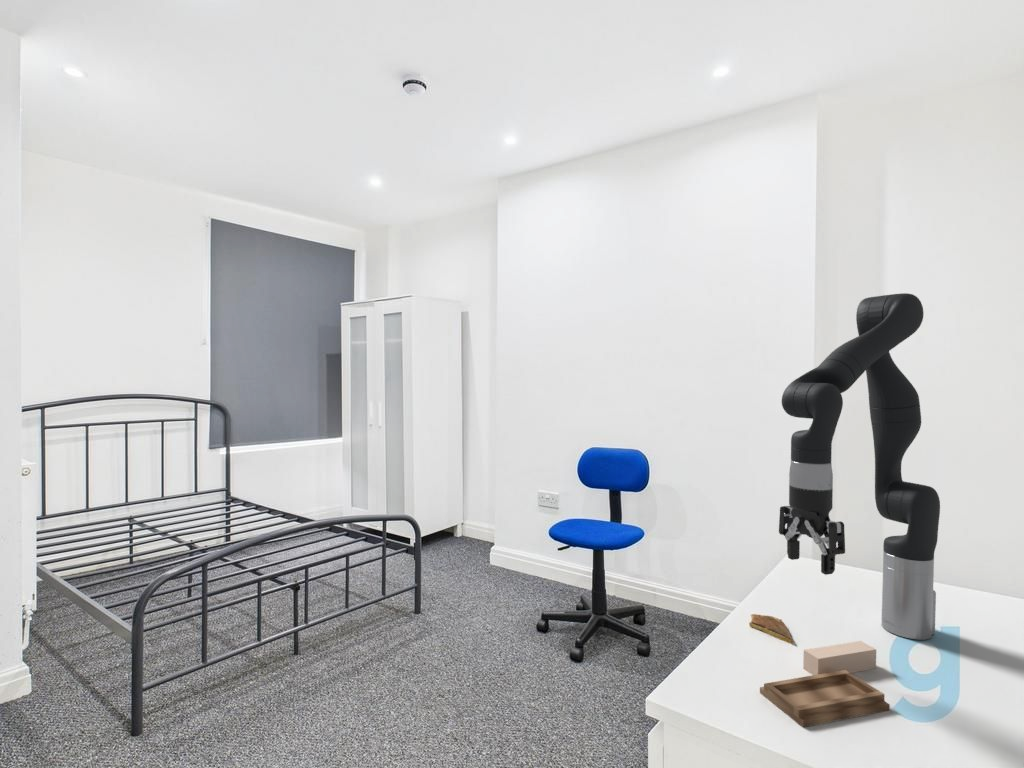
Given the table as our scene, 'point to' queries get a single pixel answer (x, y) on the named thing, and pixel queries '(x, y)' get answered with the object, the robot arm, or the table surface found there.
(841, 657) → the beige rectangular block
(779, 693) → the brown wooden tray
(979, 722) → the table surface
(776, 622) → the shard
